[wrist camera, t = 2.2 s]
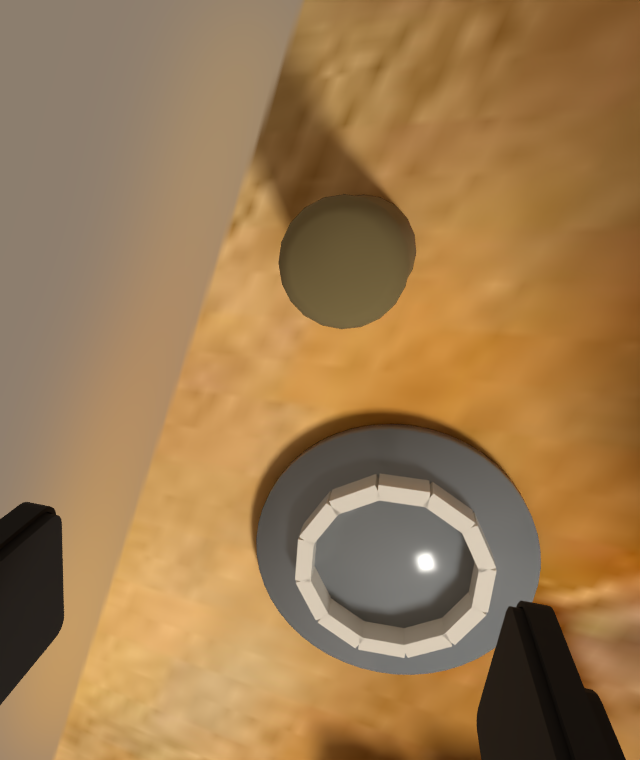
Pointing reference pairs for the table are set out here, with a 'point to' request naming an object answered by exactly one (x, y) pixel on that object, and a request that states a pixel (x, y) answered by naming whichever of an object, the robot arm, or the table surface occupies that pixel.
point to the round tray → (397, 548)
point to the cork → (347, 259)
